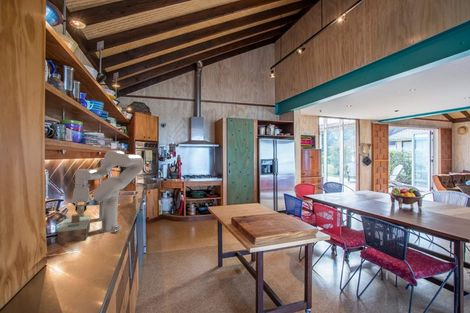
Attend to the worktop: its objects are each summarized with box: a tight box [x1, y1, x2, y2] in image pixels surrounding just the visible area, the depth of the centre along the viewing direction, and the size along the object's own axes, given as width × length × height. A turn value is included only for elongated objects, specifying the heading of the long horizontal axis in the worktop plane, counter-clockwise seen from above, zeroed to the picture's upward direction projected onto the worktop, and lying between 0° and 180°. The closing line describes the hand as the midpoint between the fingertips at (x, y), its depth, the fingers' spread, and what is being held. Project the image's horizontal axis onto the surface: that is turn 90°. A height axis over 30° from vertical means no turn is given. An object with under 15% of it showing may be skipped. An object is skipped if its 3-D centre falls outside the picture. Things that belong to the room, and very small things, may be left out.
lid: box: [57, 213, 91, 233], centre depth 150 cm, size 14×26×6 cm, turn 28°
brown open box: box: [57, 219, 91, 245], centre depth 150 cm, size 14×26×8 cm, turn 28°
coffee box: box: [98, 201, 103, 221], centre depth 192 cm, size 9×6×16 cm
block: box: [76, 204, 86, 217], centre depth 167 cm, size 4×4×14 cm
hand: (80, 211), depth 167 cm, fingers closed on block, 4 cm apart
